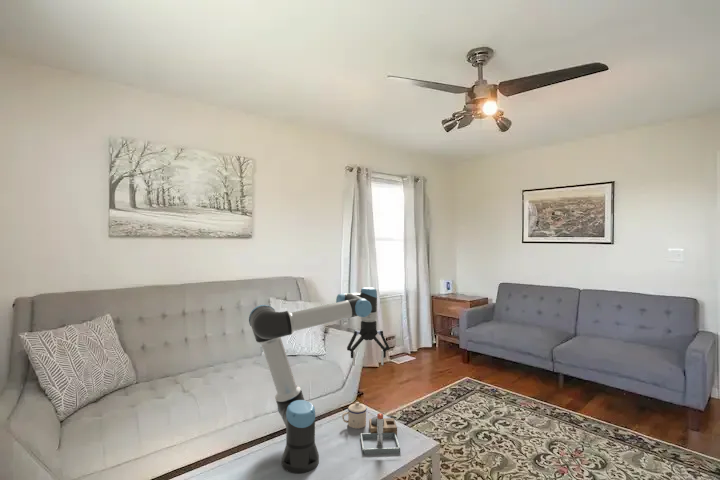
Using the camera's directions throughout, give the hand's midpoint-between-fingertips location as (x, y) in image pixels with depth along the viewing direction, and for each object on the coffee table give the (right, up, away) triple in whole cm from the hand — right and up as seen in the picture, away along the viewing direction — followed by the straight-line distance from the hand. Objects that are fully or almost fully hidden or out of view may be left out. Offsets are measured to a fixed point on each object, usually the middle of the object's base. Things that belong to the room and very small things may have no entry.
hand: (368, 364), depth 187 cm
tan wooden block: (+7, -32, -2) cm, 33 cm away
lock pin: (+5, -32, -14) cm, 35 cm away
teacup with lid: (-7, -32, +4) cm, 33 cm away
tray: (+5, -32, -14) cm, 35 cm away
